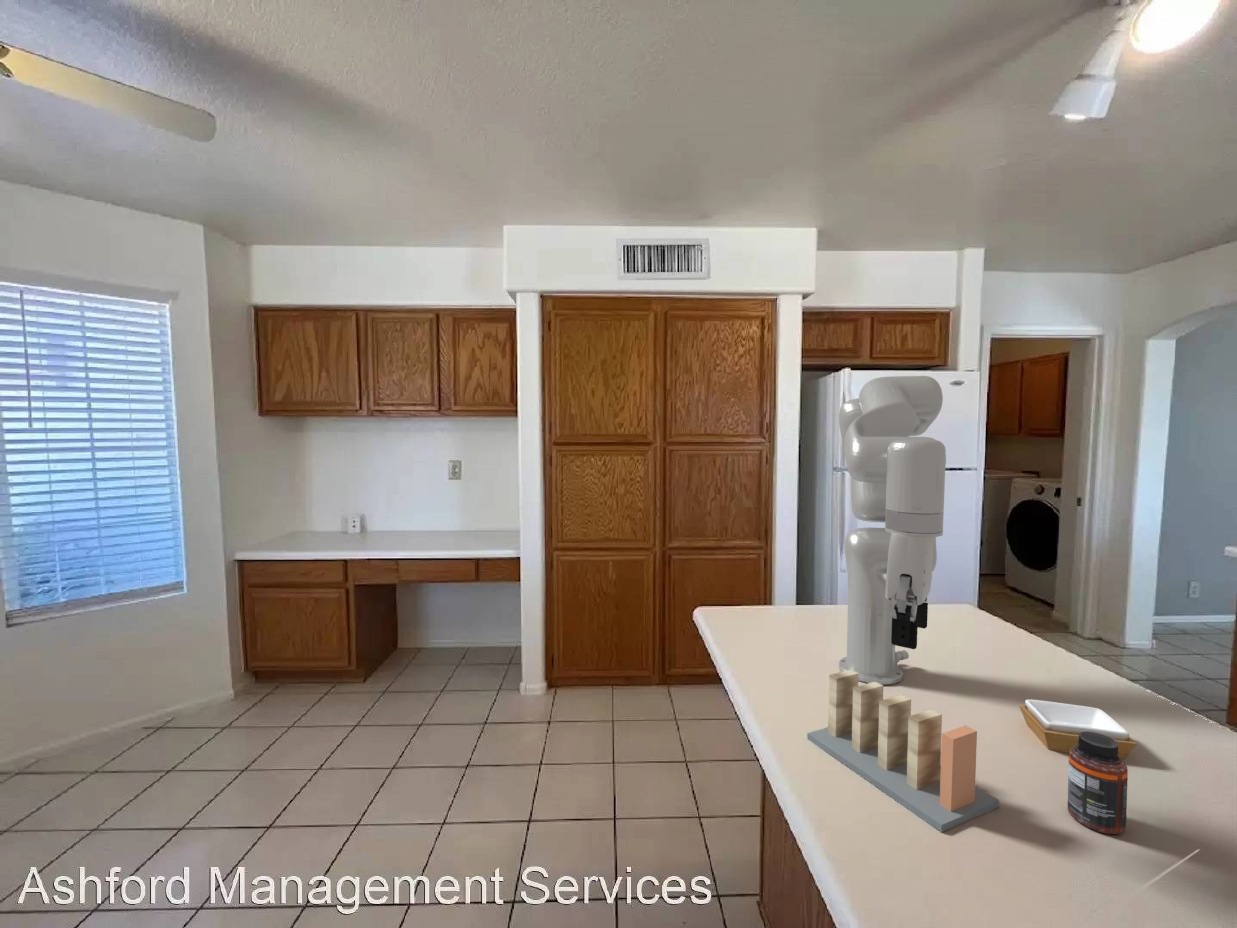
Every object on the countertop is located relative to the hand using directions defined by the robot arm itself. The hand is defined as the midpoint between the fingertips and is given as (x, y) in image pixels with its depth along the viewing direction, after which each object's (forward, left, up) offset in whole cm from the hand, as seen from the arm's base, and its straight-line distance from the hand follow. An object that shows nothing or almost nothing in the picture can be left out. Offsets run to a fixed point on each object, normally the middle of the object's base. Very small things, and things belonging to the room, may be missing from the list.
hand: (909, 635), depth 81 cm
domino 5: (0, +8, -21) cm, 22 cm away
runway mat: (0, -2, -22) cm, 22 cm away
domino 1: (0, -12, -21) cm, 24 cm away
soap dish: (-34, +5, -22) cm, 41 cm away
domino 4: (0, +3, -21) cm, 21 cm away
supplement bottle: (-15, +17, -22) cm, 31 cm away
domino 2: (0, -7, -21) cm, 22 cm away
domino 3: (0, -2, -21) cm, 21 cm away
